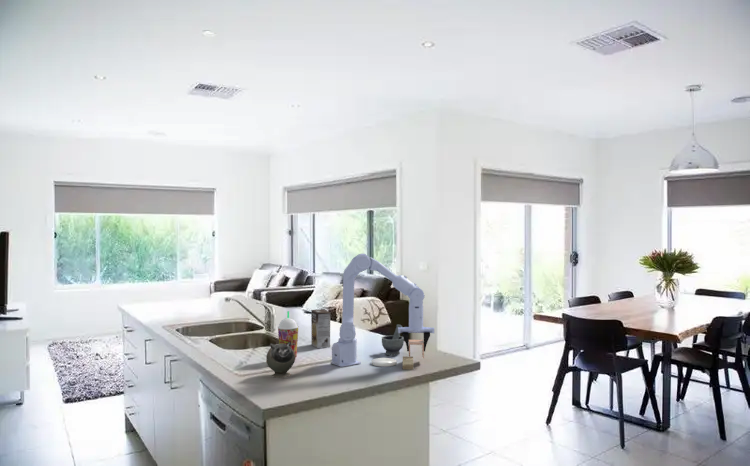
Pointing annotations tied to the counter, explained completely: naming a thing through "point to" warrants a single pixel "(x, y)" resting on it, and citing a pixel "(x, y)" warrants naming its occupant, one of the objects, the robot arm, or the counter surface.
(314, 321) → the coffee box
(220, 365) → the counter surface
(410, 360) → the block
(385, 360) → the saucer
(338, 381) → the counter surface
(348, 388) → the counter surface
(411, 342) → the cover
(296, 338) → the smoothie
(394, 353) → the mortar and pestle
